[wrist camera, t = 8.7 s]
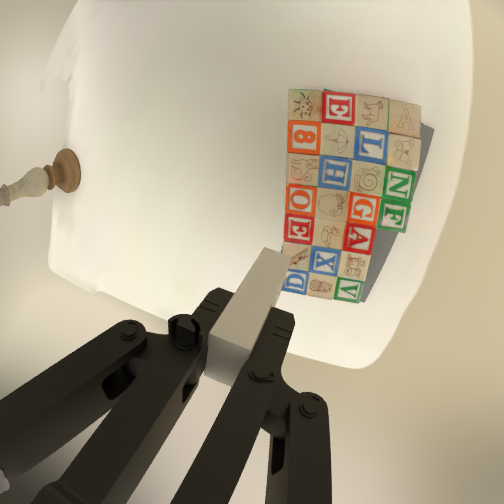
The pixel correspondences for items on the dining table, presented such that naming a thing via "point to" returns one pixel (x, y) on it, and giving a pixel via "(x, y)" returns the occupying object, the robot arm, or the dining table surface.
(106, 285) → the dining table surface
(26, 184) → the candle holder
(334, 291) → the stack of blocks
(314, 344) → the dining table surface
